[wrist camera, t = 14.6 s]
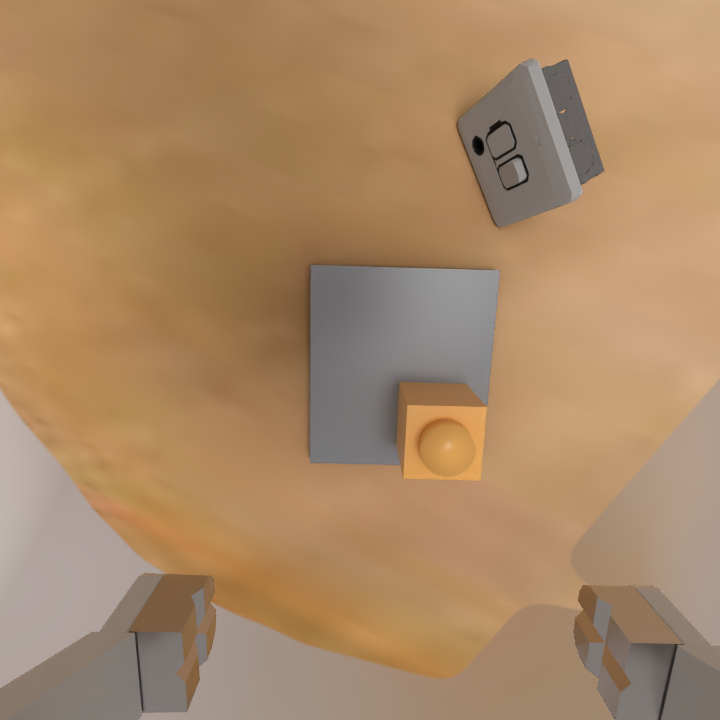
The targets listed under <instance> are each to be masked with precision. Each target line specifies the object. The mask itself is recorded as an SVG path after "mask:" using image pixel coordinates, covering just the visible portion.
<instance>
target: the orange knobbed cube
mask: <svg viewBox="0 0 720 720" xmlns="http://www.w3.org/2000/svg"><path fill="white" fill-rule="evenodd" d="M486 414H487V406H486V405H485V404H484V403H483V402H482V401H481V400H480V398H479V397H478V396H477V395H476V394H475V393H474V392H473V391H472V390H471V388H470V387H469V386H468V385H467V384H458V383H419V382H399V399H398V420H397V440H396V446H397V451H398V455H399V460H400V465H401V470H402V475H403V479H442V480H480V477H481V467H482V456H483V445H484V435H485V424H486Z"/></svg>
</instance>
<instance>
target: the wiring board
mask: <svg viewBox="0 0 720 720" xmlns="http://www.w3.org/2000/svg"><path fill="white" fill-rule="evenodd" d="M499 276H500V270H473V269H439V268H405V267H370V266H336V265H311V312H310V463H339V464H380V465H400V460H399V455H398V451H397V446H396V440H397V420H398V399H399V382H419V383H458V384H467V385H468V386H469V387H470V388H471V390H472V391H473V392H474V393H475V394H476V395H477V396H478V397H479V398H480V400H481V401H482V402H483V403H484V404H485V405H486V406H487V402H488V392H489V381H490V371H491V360H492V350H493V339H494V329H495V318H496V308H497V297H498V287H499Z"/></svg>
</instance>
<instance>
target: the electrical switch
mask: <svg viewBox="0 0 720 720" xmlns="http://www.w3.org/2000/svg"><path fill="white" fill-rule="evenodd" d="M567 79H568V80H567ZM564 109H566V110H565V112H564V113H559V112H561V111H563V110H564ZM458 129H459V132H460V135H461V137H462V140H463V143H464V145H465V148H466V150H467V153H468V155H469V158H470V160H471V163H472V166H473V168H474V171H475V173H476V176H477V178H478V181H479V183H480V186H481V189H482V191H483V194H484V196H485V199H486V201H487V204H488V206H489V209H490V212H491V214H492V217H493V219H494V222H495V223H496V225H498V226H499V227H503V226H507V225H510V224H513V223H515V222H518V221H521V220H524V219H527V218H529V217H532V216H535V215H538V214H540V213H543V212H546V211H549V210H551V209H554V208H557V207H560V206H563V205H565V204H568V203H571V202H573V201H575V200H577V199H578V198H579V197H580V196H581V194H582V193H583V191H582V188H581V185H582V184H584V183H586V182H587V181H588V180H589V179H591V178H593V177H595V176H597V175H599V174H601V172H603V171H604V168H603V165H602V162H601V159H600V156H599V153H598V150H597V147H596V144H595V141H594V138H593V135H592V132H591V129H590V126H589V123H588V120H587V117H586V114H585V111H584V107H583V104H582V101H581V98H580V95H579V92H578V89H577V86H576V83H575V80H574V77H573V74H572V71H571V68H570V65H569V62H568V60H564V61H562V62H559V63H557V64H555V65H553V66H546V67H544V68H542V69H541V67H540V64H539V61H537V60H534V59H531V58H530V59H528V60H527V61H525V62H523V63H521V64H519V65H518V66H517V67H516V68H515V69H514V70H513V71H511V72H510V73H509V74H508V75H507V76H506V77H505V78H504V79H503V80H502V81H501V82H499V83H498V84H497V85H496V86H495V87H494V88H493V89H492V90H491V91H490V92H489V93H487V94H486V95H485V96H484V97H483V98H482V99H481V100H480V101H479V102H478V103H477V104H475V105H474V106H473V107H472V108H471V109H470V110H469V111H468V112H467V113H466V114H465V115H463V116H462V117H461V118H460V119H459V123H458ZM572 137H575V138H573V139H572V140H571V138H572ZM578 141H580V142H578ZM569 148H570V149H569ZM592 151H593V153H592ZM590 167H591V168H590ZM577 173H579V174H577Z"/></svg>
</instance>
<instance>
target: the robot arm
mask: <svg viewBox="0 0 720 720" xmlns="http://www.w3.org/2000/svg"><path fill="white" fill-rule="evenodd" d="M214 593H215V587H214V579H213V577H212V576H203V575H183V574H154V573H144V574H142V575H140V576H139V577H138V578H137V579H136V581H135V582H134V584H133V585H132V586H131V588H130V589H129V591H128V592H127V593H126V595H125V597H124V598H123V599H122V601H121V602H120V603H119V605H118V606H117V608H116V609H115V610H114V612H113V613H112V615H111V616H110V618H109V619H108V620H107V622H106V623H105V625H104V626H103V627H102V629H101V630H100V632H91V633H90V634H88V635H86V636H84V637H83V638H81V639H80V640H78V641H77V642H75V643H73V644H72V645H70V646H68V647H67V648H65V649H64V650H62V651H60V652H59V653H57V654H55V655H54V656H52V657H51V658H49V659H47V660H46V661H44V662H42V663H41V664H39V665H38V666H36V667H34V668H33V669H31V670H30V671H28V672H26V673H25V674H23V675H21V676H20V677H18V678H17V679H15V680H13V681H12V682H10V683H8V684H7V685H5V686H4V687H2V688H0V720H138V719H139V718H140V717H141V716H142V713H152V712H153V713H154V712H187V711H188V709H189V706H190V703H191V701H192V698H193V696H194V693H195V690H196V688H197V685H198V683H199V680H200V679H199V678H200V677H199V666H201V665H202V664H203V663H204V662H205V661H206V660H207V659H208V656H209V654H210V651H211V648H212V644H213V639H214V634H215V628H216V609H215V608H214V607H213V606H212V605H211V600H212V598H213V595H214ZM578 602H579V603H580V605H581V606H582V608H583V611H582V612H581V613H580V614H579V615H578V616H577V617H576V618H575V624H574V638H575V645H576V648H577V651H578V654H579V657H580V659H581V660H582V662H583V664H584V666H585V668H586V669H587V670H589V671H590V672H591V673H592V674H594V675H595V676H596V677H598V678H599V680H598V686H597V689H598V691H599V693H600V695H601V696H602V698H603V700H604V702H605V703H606V705H607V707H608V709H609V710H610V712H611V714H612V716H613V718H614V719H615V720H720V646H711V645H710V644H709V642H708V641H707V640H706V639H705V638H704V637H703V636H702V635H701V634H700V633H699V632H698V631H697V630H696V629H695V627H694V626H693V625H692V624H691V623H690V622H689V621H688V620H687V619H686V618H685V617H684V616H683V614H682V613H681V612H680V611H679V610H678V609H677V608H676V607H675V606H674V605H673V604H672V603H671V602H670V601H669V600H668V598H667V597H666V596H665V595H664V594H663V593H662V592H661V591H660V590H659V589H658V588H656V587H654V586H653V585H629V586H610V585H583V586H582V588H581V589H580V592H579V597H578Z"/></svg>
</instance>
